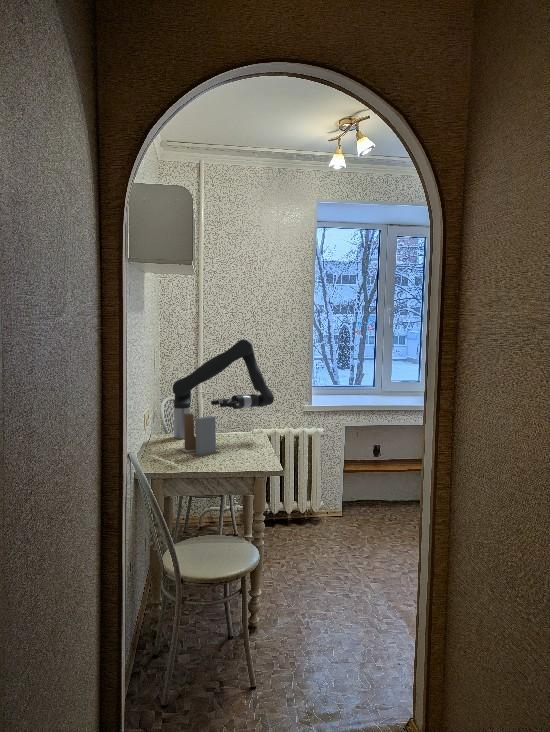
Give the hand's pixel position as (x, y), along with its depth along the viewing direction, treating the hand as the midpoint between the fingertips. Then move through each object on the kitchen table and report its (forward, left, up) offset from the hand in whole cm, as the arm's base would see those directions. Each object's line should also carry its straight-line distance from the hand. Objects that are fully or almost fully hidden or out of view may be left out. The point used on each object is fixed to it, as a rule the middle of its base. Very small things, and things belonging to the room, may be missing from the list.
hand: (215, 404), depth 305 cm
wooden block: (+4, -16, -21) cm, 27 cm away
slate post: (+15, -16, -21) cm, 31 cm away
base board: (+8, -16, -22) cm, 29 cm away
